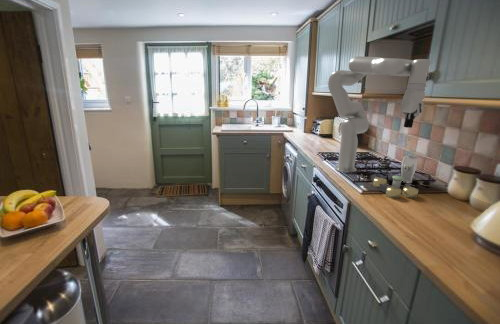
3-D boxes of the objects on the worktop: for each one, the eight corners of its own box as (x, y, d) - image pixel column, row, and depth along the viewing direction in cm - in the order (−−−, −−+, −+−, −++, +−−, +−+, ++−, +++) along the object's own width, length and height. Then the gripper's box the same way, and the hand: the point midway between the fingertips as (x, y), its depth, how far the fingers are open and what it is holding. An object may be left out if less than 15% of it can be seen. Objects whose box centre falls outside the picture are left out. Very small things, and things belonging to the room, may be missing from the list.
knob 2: (418, 199, 119) (420, 192, 118) (403, 197, 120) (405, 190, 119) (412, 191, 128) (413, 184, 127) (398, 189, 130) (400, 182, 128)
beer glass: (414, 186, 138) (421, 159, 133) (400, 185, 139) (406, 158, 134) (409, 181, 144) (415, 155, 140) (396, 180, 145) (401, 154, 141)
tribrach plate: (369, 186, 136) (371, 173, 134) (397, 186, 137) (399, 173, 135) (389, 202, 118) (392, 188, 116) (421, 202, 119) (425, 188, 117)
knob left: (388, 188, 131) (389, 181, 130) (376, 188, 130) (377, 181, 129) (377, 180, 140) (378, 174, 139) (366, 180, 140) (367, 174, 139)
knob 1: (403, 197, 120) (404, 190, 119) (394, 199, 118) (395, 192, 117) (384, 189, 129) (385, 182, 128) (375, 191, 127) (376, 184, 126)
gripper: (398, 87, 128) (391, 124, 134) (419, 88, 114) (409, 130, 120) (413, 87, 128) (405, 124, 134) (435, 88, 114) (425, 130, 120)
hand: (407, 127), depth 127 cm, fingers closed
